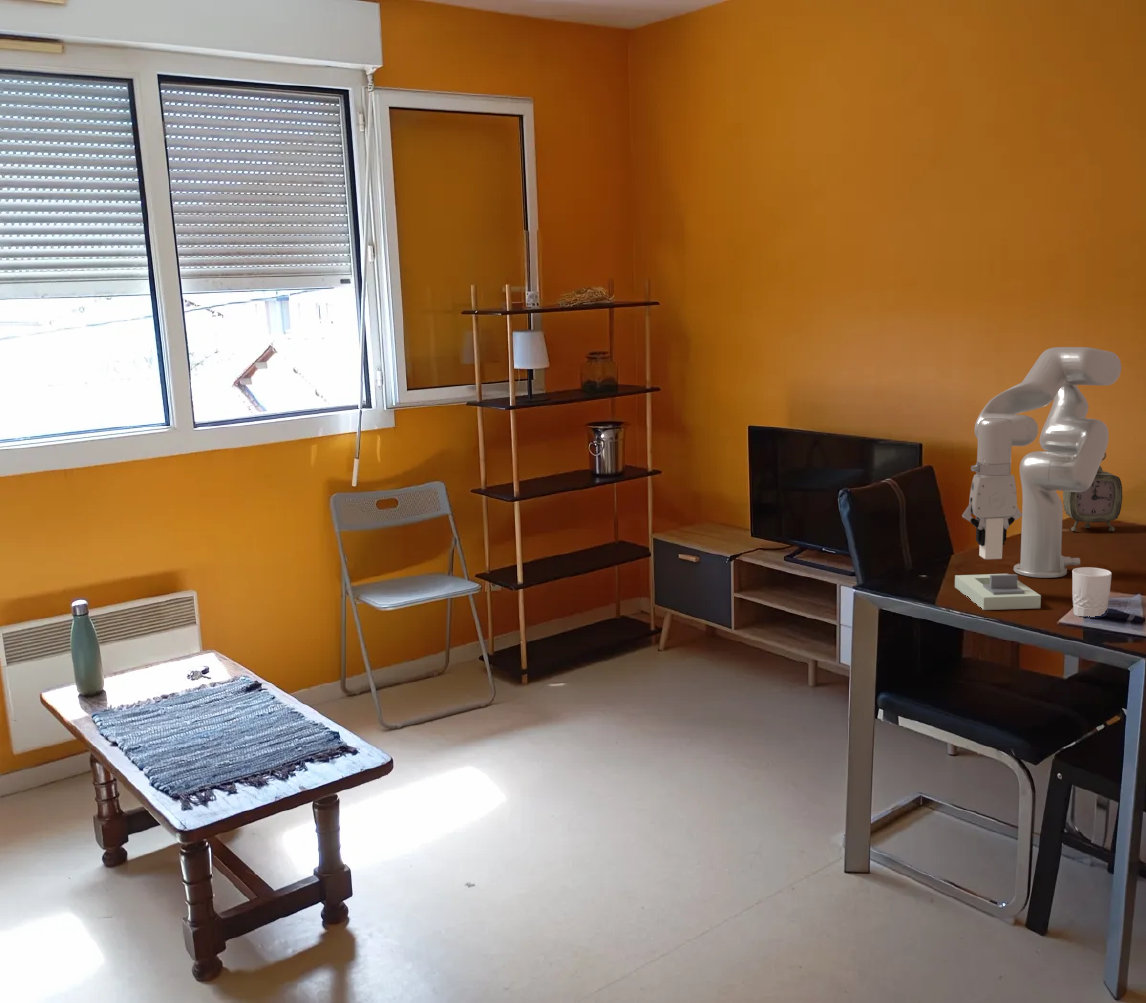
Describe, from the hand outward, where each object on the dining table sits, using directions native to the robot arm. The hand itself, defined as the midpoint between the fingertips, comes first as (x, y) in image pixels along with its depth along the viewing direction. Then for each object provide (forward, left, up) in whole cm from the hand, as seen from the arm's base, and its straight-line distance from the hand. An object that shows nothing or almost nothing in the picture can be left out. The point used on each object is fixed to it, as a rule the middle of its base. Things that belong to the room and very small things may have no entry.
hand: (990, 543), depth 252 cm
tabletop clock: (-53, -63, -13) cm, 83 cm away
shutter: (0, +8, -9) cm, 12 cm away
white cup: (-15, +20, -13) cm, 28 cm away
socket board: (0, +4, -12) cm, 13 cm away
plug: (0, 0, -3) cm, 3 cm away
